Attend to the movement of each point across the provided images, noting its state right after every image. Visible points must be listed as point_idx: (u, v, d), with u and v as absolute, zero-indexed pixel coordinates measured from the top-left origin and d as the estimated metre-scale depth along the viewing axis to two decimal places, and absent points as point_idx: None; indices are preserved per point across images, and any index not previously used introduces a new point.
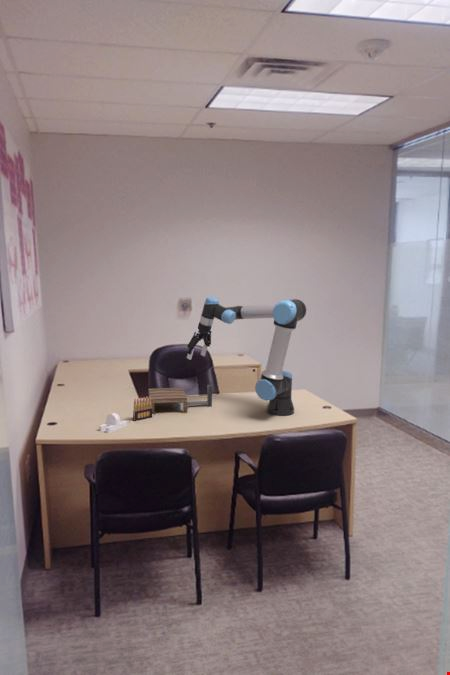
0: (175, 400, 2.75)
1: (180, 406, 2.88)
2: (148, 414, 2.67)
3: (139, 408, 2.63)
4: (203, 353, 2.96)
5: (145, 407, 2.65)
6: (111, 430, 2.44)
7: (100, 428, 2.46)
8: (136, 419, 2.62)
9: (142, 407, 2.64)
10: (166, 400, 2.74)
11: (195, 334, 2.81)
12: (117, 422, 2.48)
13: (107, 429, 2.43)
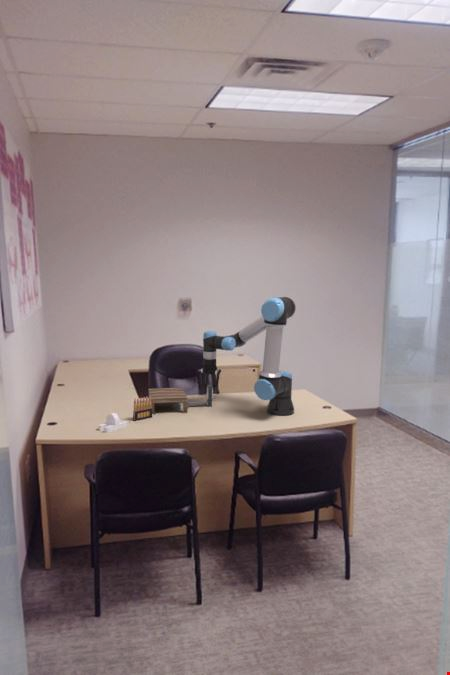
0: (175, 400, 2.75)
1: (180, 406, 2.88)
2: (148, 414, 2.67)
3: (139, 408, 2.63)
4: None
5: (145, 407, 2.65)
6: (109, 430, 2.45)
7: (99, 427, 2.47)
8: (136, 419, 2.62)
9: (142, 407, 2.64)
10: (166, 400, 2.74)
11: (199, 372, 2.88)
12: (117, 422, 2.48)
13: (105, 429, 2.44)
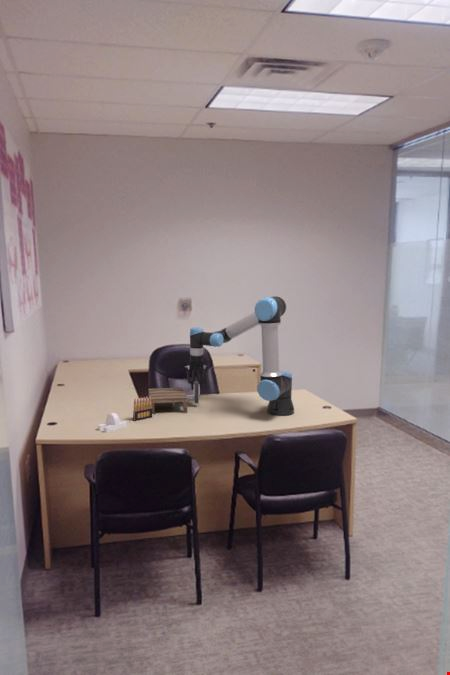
0: (175, 400, 2.75)
1: (180, 406, 2.88)
2: (148, 414, 2.67)
3: (139, 408, 2.63)
4: None
5: (145, 407, 2.65)
6: (109, 430, 2.45)
7: (99, 427, 2.47)
8: (136, 419, 2.62)
9: (142, 407, 2.64)
10: (166, 400, 2.74)
11: None
12: (116, 422, 2.48)
13: (105, 429, 2.44)
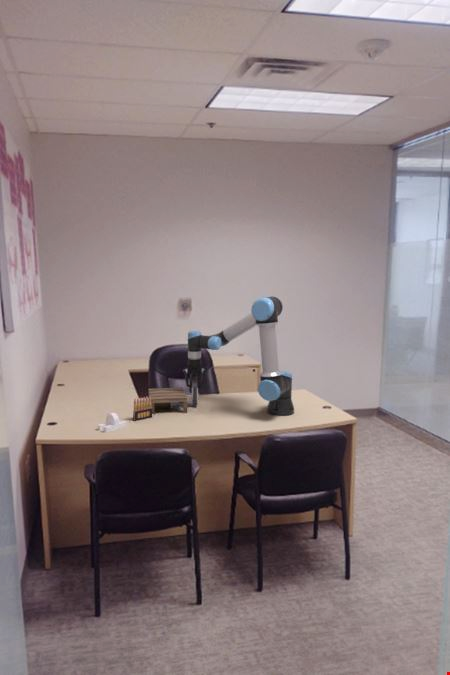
0: (175, 400, 2.75)
1: (180, 406, 2.88)
2: (148, 414, 2.67)
3: (139, 408, 2.63)
4: None
5: (145, 407, 2.65)
6: (109, 430, 2.45)
7: (99, 427, 2.47)
8: (136, 419, 2.62)
9: (142, 407, 2.64)
10: (166, 400, 2.74)
11: None
12: (116, 422, 2.48)
13: (105, 429, 2.44)
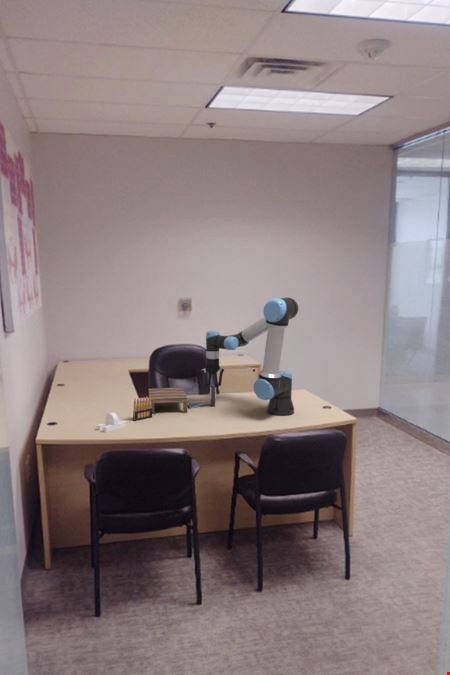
0: (175, 400, 2.75)
1: (198, 405, 2.89)
2: (148, 414, 2.67)
3: (139, 408, 2.63)
4: None
5: (145, 407, 2.65)
6: (108, 430, 2.45)
7: (98, 427, 2.47)
8: (136, 419, 2.62)
9: (142, 407, 2.64)
10: (166, 400, 2.74)
11: (202, 372, 2.88)
12: (116, 422, 2.48)
13: (105, 429, 2.44)
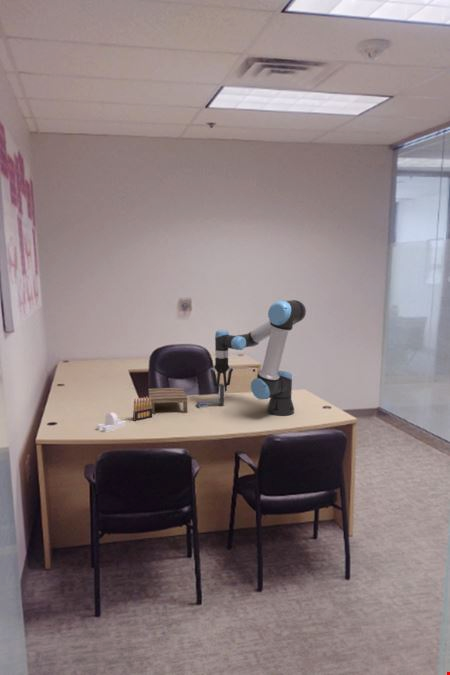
0: (175, 400, 2.75)
1: (207, 405, 2.91)
2: (148, 414, 2.67)
3: (139, 408, 2.63)
4: None
5: (145, 407, 2.65)
6: (108, 430, 2.45)
7: (98, 427, 2.47)
8: (136, 419, 2.62)
9: (142, 407, 2.64)
10: (166, 400, 2.74)
11: (211, 371, 2.89)
12: (115, 422, 2.48)
13: (104, 428, 2.44)
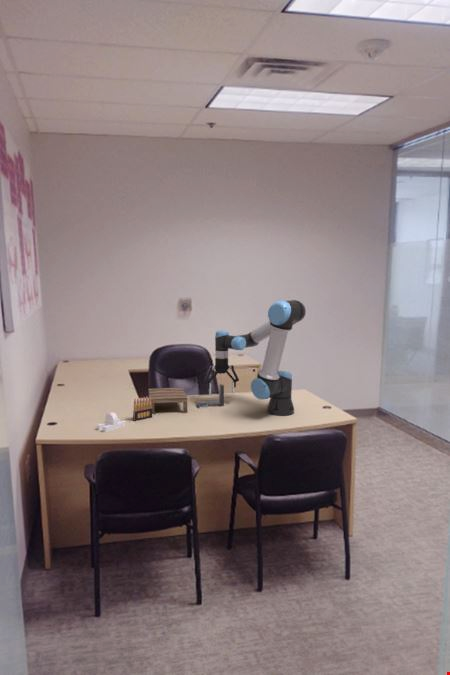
0: (175, 400, 2.75)
1: (207, 405, 2.91)
2: (148, 414, 2.67)
3: (139, 408, 2.63)
4: (232, 390, 2.93)
5: (145, 407, 2.65)
6: (108, 429, 2.45)
7: (98, 427, 2.47)
8: (136, 419, 2.62)
9: (142, 407, 2.64)
10: (166, 400, 2.74)
11: None
12: (115, 422, 2.48)
13: (104, 428, 2.44)
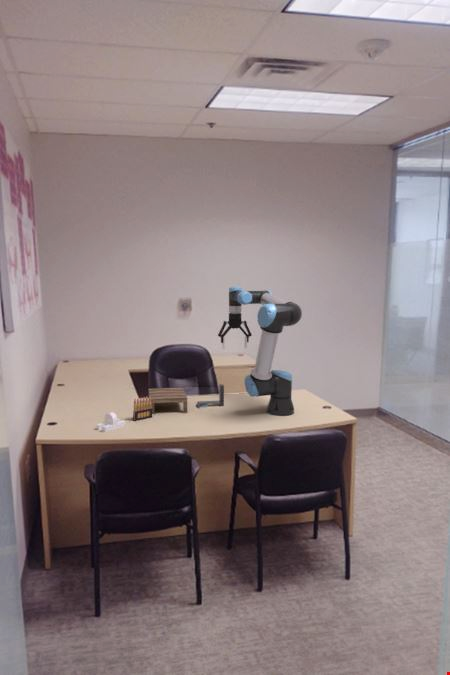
0: (175, 400, 2.75)
1: (207, 405, 2.91)
2: (148, 414, 2.67)
3: (139, 408, 2.63)
4: (245, 345, 3.02)
5: (145, 407, 2.65)
6: (107, 429, 2.45)
7: (97, 427, 2.48)
8: (136, 419, 2.62)
9: (142, 407, 2.64)
10: (166, 400, 2.74)
11: (223, 323, 2.98)
12: (115, 422, 2.48)
13: (104, 428, 2.44)
